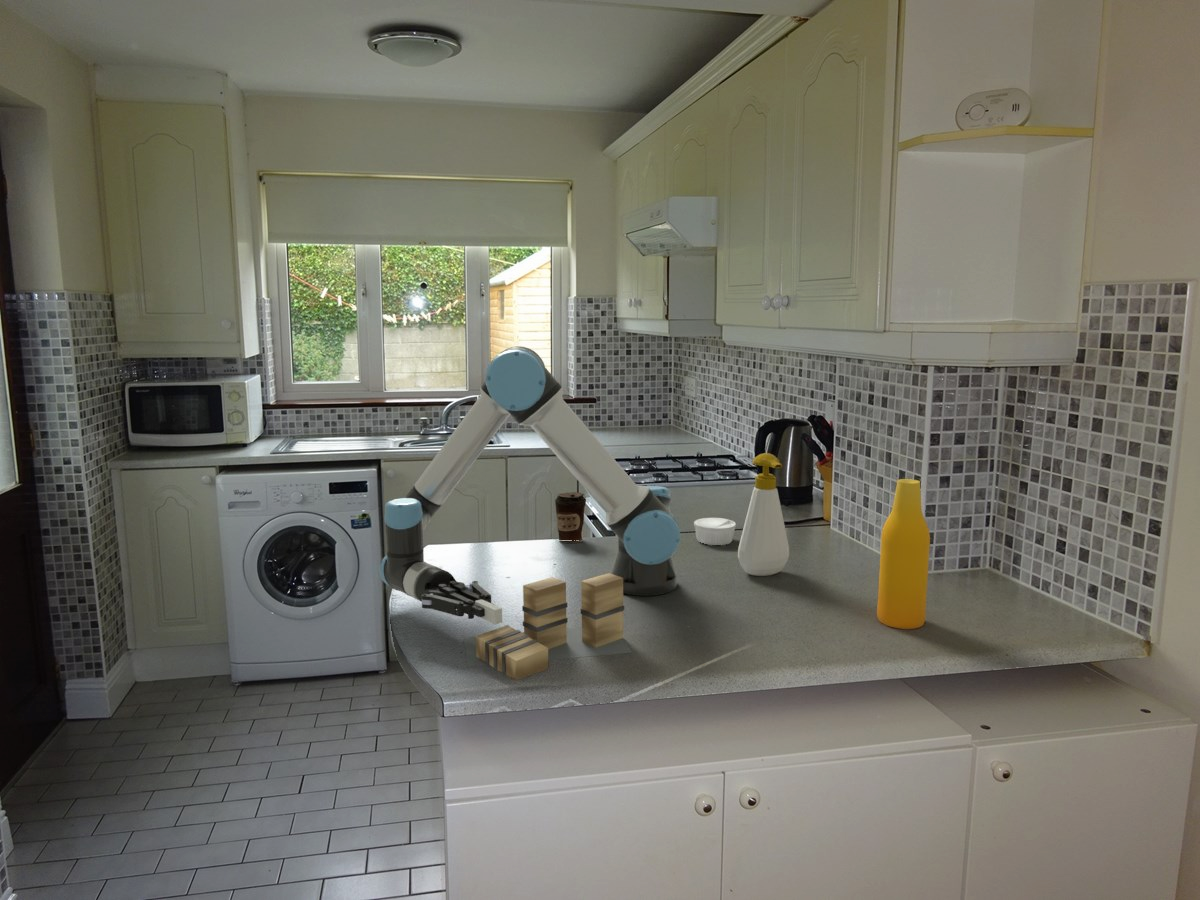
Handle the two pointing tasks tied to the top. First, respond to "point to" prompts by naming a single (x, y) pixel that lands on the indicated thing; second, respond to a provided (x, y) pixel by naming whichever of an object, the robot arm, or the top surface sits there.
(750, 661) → the top surface
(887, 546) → the beer bottle
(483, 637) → the striped wooden block
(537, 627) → the wooden block
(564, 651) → the mat
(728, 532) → the ramekin
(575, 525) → the coffee cup
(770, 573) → the soap bottle
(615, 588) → the banded wooden block
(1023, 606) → the top surface
